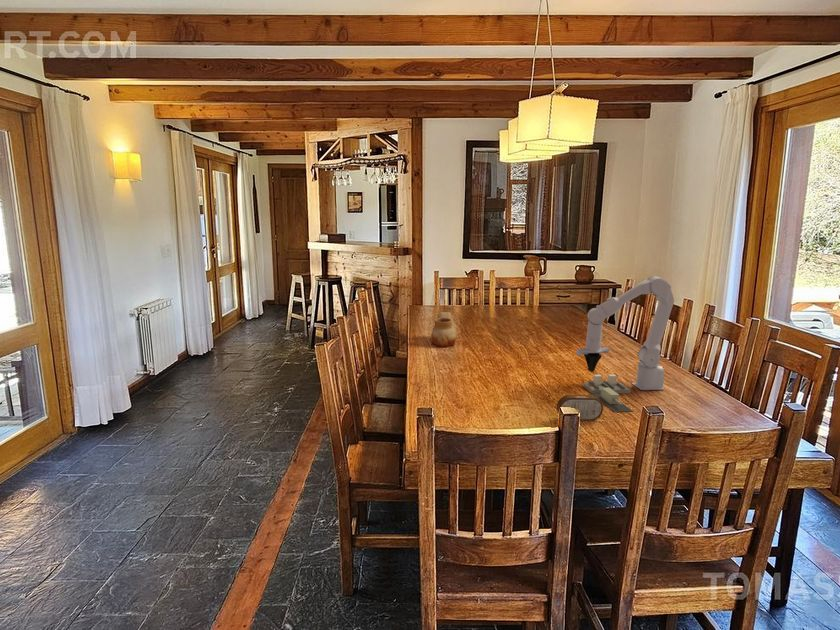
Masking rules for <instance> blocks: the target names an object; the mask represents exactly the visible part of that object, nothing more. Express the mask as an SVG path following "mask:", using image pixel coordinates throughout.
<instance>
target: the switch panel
mask: <svg viewBox="0 0 840 630" xmlns="http://www.w3.org/2000/svg"><path fill="white" fill-rule="evenodd" d="M592 381H593V380H588V381H587V382H583V383H582V387H583V388H585V389H586V390H587V391H588V392H589V393H590V394H591V395H593V394H601V388H611V389H612V390H613V391H615V392H616V393H617V394H631V388H629V387H628V386H626V385H625V384H623V383H622V382H620V381H617V380H616V383H617V385H611V384H610V383H608V382H607V380H605V379H602V382H601V383H602V385H596V384H595V383H593V382H592Z"/></svg>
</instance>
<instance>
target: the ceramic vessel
mask: <svg viewBox="0 0 840 630" xmlns="http://www.w3.org/2000/svg"><path fill="white" fill-rule="evenodd" d="M458 332H459V331H458V327H457V324H456V323H455V321H454V318H453V316H452V312H449V311H444V312H443V311H440V312H438V315H437V318H435V319H434V325H433V327H432V331H431V334H430V336H431V337H430V342H431V344H432V345H433V346H435V347H438V348H448V347H454V346H455V345H456V341H457V339H458Z"/></svg>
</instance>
